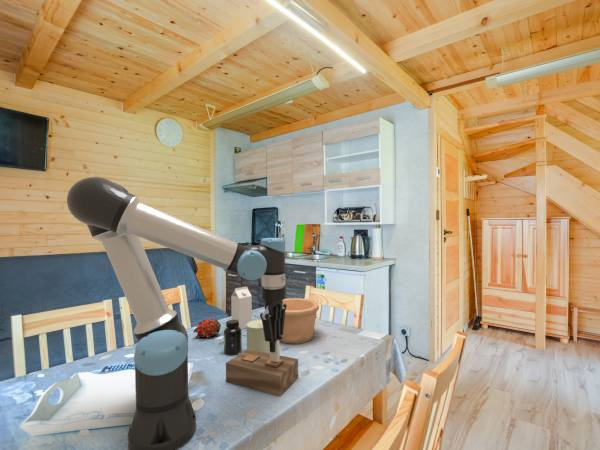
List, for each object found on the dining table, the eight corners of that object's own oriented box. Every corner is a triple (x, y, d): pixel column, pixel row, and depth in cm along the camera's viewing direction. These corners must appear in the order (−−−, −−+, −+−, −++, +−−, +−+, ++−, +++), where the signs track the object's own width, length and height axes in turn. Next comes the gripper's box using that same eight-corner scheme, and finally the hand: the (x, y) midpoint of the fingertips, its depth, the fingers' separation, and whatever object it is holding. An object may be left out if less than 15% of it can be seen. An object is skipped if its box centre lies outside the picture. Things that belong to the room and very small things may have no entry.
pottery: (307, 325, 152) (307, 296, 151) (327, 342, 131) (327, 308, 131) (264, 331, 144) (264, 300, 144) (277, 350, 123) (277, 314, 123)
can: (252, 360, 114) (251, 328, 114) (242, 351, 122) (242, 321, 122) (274, 354, 119) (274, 323, 119) (264, 346, 127) (263, 317, 127)
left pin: (252, 378, 100) (252, 361, 100) (242, 375, 102) (242, 359, 102) (259, 372, 104) (259, 356, 104) (249, 370, 106) (249, 354, 106)
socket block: (280, 396, 91) (280, 376, 91) (225, 381, 100) (225, 362, 100) (298, 377, 102) (298, 359, 102) (247, 365, 111) (247, 348, 111)
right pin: (276, 382, 96) (276, 365, 96) (265, 380, 98) (265, 362, 98) (283, 376, 100) (282, 359, 100) (272, 374, 102) (272, 357, 102)
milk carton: (231, 326, 151) (231, 287, 151) (244, 323, 156) (243, 285, 155) (239, 330, 146) (238, 289, 145) (252, 326, 151) (251, 287, 150)
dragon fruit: (223, 338, 141) (196, 346, 135) (218, 322, 146) (192, 330, 141) (223, 326, 135) (195, 335, 130) (218, 311, 141) (191, 319, 136)
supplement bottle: (221, 355, 119) (221, 324, 119) (226, 348, 126) (226, 318, 126) (239, 355, 119) (239, 324, 118) (243, 348, 126) (243, 318, 125)
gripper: (273, 292, 91) (274, 372, 92) (293, 283, 103) (294, 354, 103) (251, 290, 94) (253, 367, 95) (273, 281, 106) (274, 350, 107)
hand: (274, 360), depth 99 cm, fingers closed
